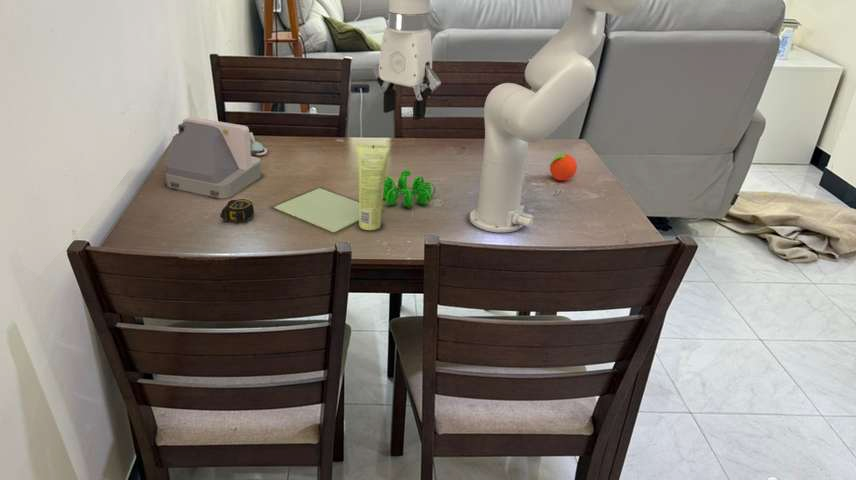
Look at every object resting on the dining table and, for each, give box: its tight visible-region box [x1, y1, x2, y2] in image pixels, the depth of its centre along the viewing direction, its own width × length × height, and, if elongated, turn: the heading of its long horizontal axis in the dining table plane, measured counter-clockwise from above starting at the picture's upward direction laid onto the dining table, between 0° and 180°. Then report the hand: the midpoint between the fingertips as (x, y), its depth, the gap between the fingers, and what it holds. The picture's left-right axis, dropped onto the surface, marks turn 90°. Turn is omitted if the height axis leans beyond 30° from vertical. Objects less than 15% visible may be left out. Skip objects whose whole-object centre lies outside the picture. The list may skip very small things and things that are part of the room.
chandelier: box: [383, 170, 436, 209], centre depth 167 cm, size 15×15×7 cm
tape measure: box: [219, 198, 255, 222], centre depth 157 cm, size 7×7×4 cm
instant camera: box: [165, 116, 262, 199], centre depth 173 cm, size 21×21×15 cm
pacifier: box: [249, 131, 268, 157], centre depth 194 cm, size 7×6×6 cm
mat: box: [273, 187, 359, 233], centre depth 162 cm, size 20×16×1 cm
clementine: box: [549, 153, 578, 181], centre depth 178 cm, size 8×7×7 cm
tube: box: [355, 143, 391, 231], centre depth 150 cm, size 6×5×20 cm
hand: (403, 114), depth 136 cm, fingers open, 6 cm apart
